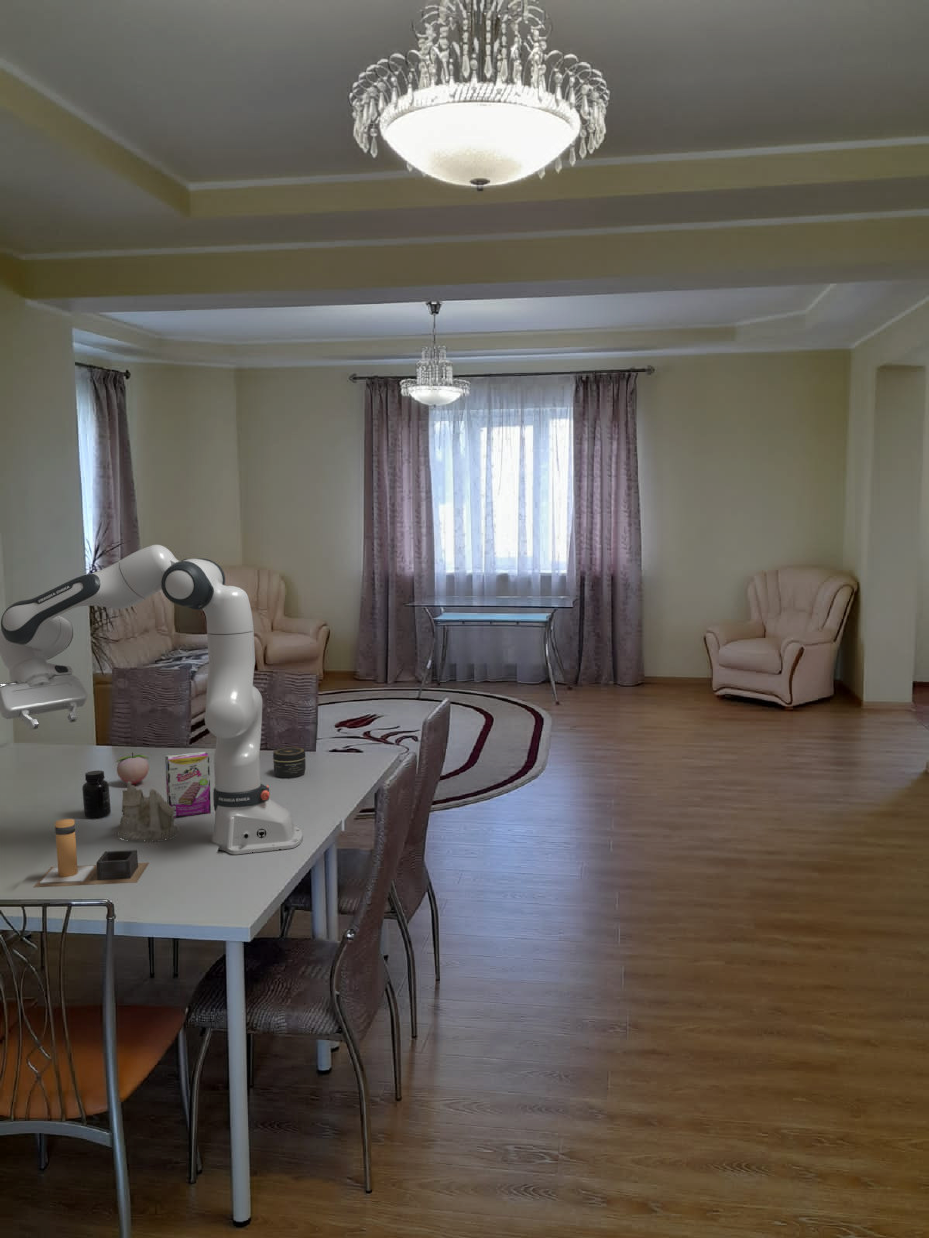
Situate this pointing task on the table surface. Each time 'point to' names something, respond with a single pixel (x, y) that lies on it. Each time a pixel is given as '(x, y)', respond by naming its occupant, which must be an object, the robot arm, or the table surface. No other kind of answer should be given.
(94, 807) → the supplement bottle
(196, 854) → the table surface
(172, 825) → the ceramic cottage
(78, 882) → the board with square socket
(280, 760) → the jar
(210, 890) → the table surface
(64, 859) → the orange cylindrical peg
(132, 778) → the decorative fruit
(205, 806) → the candy bar box
